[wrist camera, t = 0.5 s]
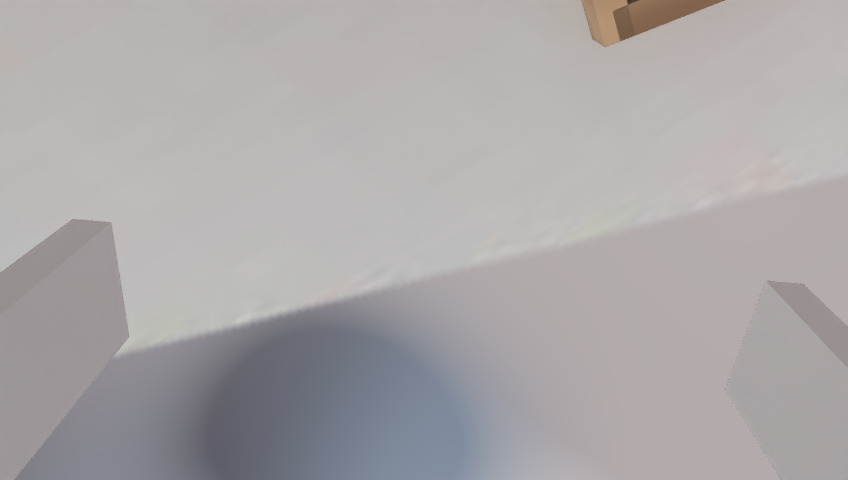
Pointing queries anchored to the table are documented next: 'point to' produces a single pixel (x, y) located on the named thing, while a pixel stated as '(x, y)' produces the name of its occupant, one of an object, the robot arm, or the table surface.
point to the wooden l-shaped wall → (634, 16)
